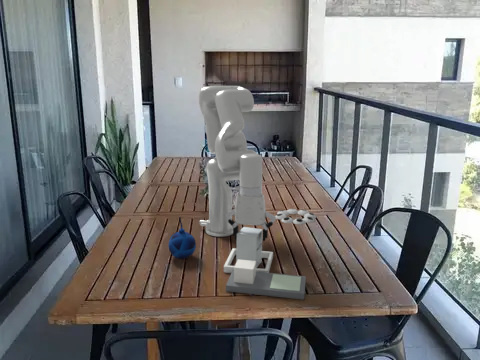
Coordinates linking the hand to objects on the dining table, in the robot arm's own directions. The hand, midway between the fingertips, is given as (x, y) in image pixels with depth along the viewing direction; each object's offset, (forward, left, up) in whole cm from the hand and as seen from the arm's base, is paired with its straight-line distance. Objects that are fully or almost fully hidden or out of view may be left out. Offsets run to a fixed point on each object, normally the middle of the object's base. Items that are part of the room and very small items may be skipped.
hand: (250, 238), depth 146 cm
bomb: (-25, +2, -10) cm, 27 cm away
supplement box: (0, +1, -10) cm, 10 cm away
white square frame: (0, +1, -10) cm, 10 cm away
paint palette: (+13, +54, -11) cm, 56 cm away
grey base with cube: (+8, -13, -10) cm, 18 cm away
